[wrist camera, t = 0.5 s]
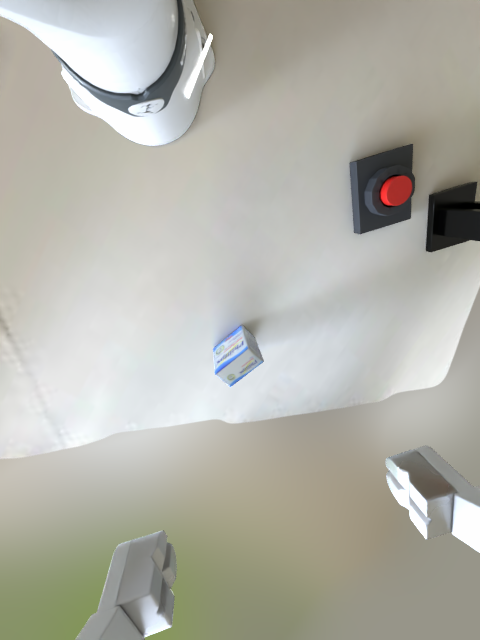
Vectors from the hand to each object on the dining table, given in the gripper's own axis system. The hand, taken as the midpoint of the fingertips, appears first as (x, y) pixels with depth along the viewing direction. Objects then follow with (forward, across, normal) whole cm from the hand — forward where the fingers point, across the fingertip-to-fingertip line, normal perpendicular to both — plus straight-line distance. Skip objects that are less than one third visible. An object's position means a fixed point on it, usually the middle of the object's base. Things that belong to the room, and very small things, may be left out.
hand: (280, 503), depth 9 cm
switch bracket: (+38, -44, -2) cm, 58 cm away
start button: (+34, -30, -8) cm, 46 cm away
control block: (+37, -30, -9) cm, 49 cm away
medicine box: (+41, 0, +12) cm, 43 cm away
